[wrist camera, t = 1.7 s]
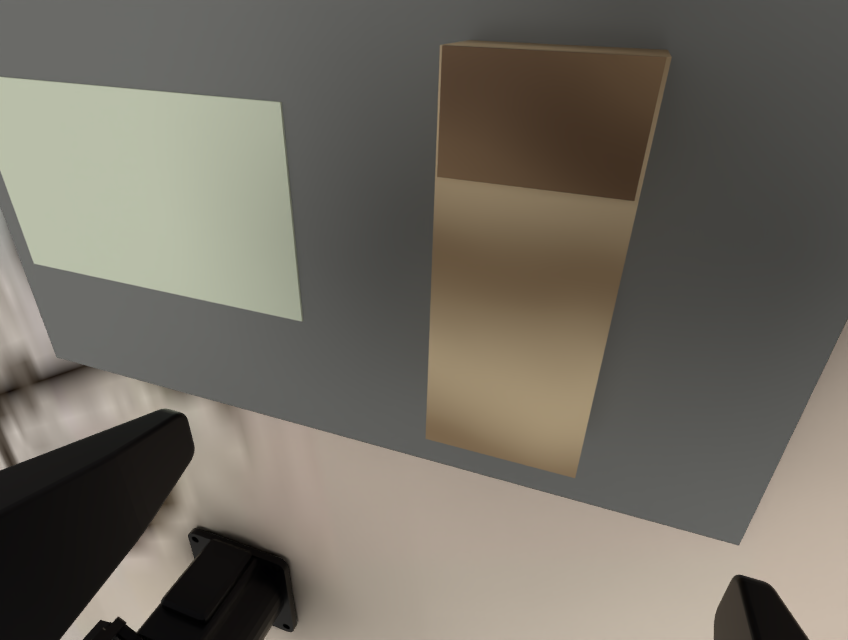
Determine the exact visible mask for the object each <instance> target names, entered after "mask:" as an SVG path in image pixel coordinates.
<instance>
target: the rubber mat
mask: <svg viewBox="0 0 848 640" xmlns="http://www.w3.org/2000/svg"><path fill="white" fill-rule="evenodd" d="M467 40H477V41H497V42H517V43H538V44H558V45H579V46H599V47H619V48H640V49H660V50H668V51H669V53H670V55H671V57H672V58H671V62H670V67H669V71H668V76H667V80H666V84H665V89H664V93H663V97H662V102H661V106H660V110H659V115H658V119H657V123H656V128H655V132H654V137H653V141H652V145H651V150H650V154H649V158H648V163H647V167H646V171H645V176H644V180H643V185H642V189H641V193H640V198H639V202H638V206H637V211H636V215H635V219H634V224H633V228H632V233H631V237H630V241H629V246H628V250H627V254H626V259H625V263H624V267H623V272H622V276H621V280H620V285H619V289H618V294H617V298H616V302H615V307H614V311H613V315H612V320H611V324H610V328H609V333H608V337H607V342H606V346H605V350H604V355H603V359H602V363H601V368H600V372H599V376H598V381H597V385H596V389H595V394H594V398H593V403H592V407H591V411H590V416H589V420H588V424H587V429H586V433H585V437H584V442H583V446H582V451H581V455H580V459H579V464H578V468H577V472H576V477H575V478H572V477H568V476H565V475H561V474H557V473H553V472H549V471H546V470H542V469H538V468H534V467H531V466H527V465H523V464H519V463H515V462H512V461H508V460H504V459H500V458H497V457H493V456H489V455H485V454H481V453H478V452H474V451H470V450H466V449H463V448H459V447H455V446H451V445H447V444H444V443H440V442H436V441H432V440H429V439H426V413H427V386H428V358H429V331H430V304H431V276H432V249H433V222H434V194H435V167H436V140H437V112H438V85H439V58H440V45H443V44H449V43H455V42H461V41H467ZM0 207H1V210H2V213H3V215H4V218H5V221H6V223H7V226H8V229H9V231H10V234H11V237H12V239H13V242H14V245H15V247H16V250H17V253H18V255H19V258H20V261H21V263H22V266H23V269H24V271H25V274H26V277H27V279H28V282H29V285H30V287H31V290H32V293H33V295H34V298H35V301H36V303H37V306H38V309H39V311H40V314H41V317H42V319H43V322H44V325H45V327H46V330H47V333H48V335H49V338H50V341H51V344H52V346H53V349H54V352H55V354H56V357H57V358H61V359H65V360H68V361H72V362H75V363H79V364H83V365H86V366H90V367H94V368H97V369H101V370H104V371H108V372H112V373H115V374H119V375H123V376H126V377H130V378H133V379H137V380H141V381H144V382H148V383H152V384H155V385H159V386H162V387H166V388H170V389H173V390H177V391H181V392H184V393H188V394H191V395H195V396H199V397H202V398H206V399H210V400H213V401H217V402H220V403H224V404H228V405H231V406H235V407H239V408H242V409H246V410H249V411H253V412H257V413H260V414H264V415H268V416H271V417H275V418H278V419H282V420H286V421H289V422H293V423H297V424H300V425H304V426H308V427H311V428H315V429H318V430H322V431H326V432H329V433H333V434H337V435H340V436H344V437H347V438H351V439H355V440H358V441H362V442H366V443H369V444H373V445H376V446H380V447H384V448H387V449H391V450H395V451H398V452H402V453H405V454H409V455H413V456H416V457H420V458H424V459H427V460H431V461H434V462H438V463H442V464H445V465H449V466H453V467H456V468H460V469H463V470H467V471H471V472H474V473H478V474H482V475H485V476H489V477H492V478H496V479H500V480H503V481H507V482H511V483H514V484H518V485H521V486H525V487H529V488H532V489H536V490H540V491H543V492H547V493H550V494H554V495H558V496H561V497H565V498H569V499H572V500H576V501H579V502H583V503H587V504H590V505H594V506H598V507H601V508H605V509H609V510H612V511H616V512H619V513H623V514H627V515H630V516H634V517H638V518H641V519H645V520H648V521H652V522H656V523H659V524H663V525H667V526H670V527H674V528H677V529H681V530H685V531H688V532H692V533H696V534H699V535H703V536H706V537H710V538H714V539H717V540H721V541H725V542H728V543H732V544H735V545H739V544H740V542H741V540H742V538H743V536H744V534H745V532H746V530H747V528H748V526H749V523H750V521H751V519H752V517H753V515H754V513H755V511H756V509H757V507H758V505H759V503H760V500H761V498H762V496H763V494H764V492H765V490H766V488H767V486H768V484H769V482H770V480H771V478H772V475H773V473H774V471H775V469H776V467H777V465H778V463H779V461H780V459H781V457H782V455H783V453H784V450H785V448H786V446H787V444H788V442H789V440H790V438H791V436H792V434H793V432H794V430H795V428H796V425H797V423H798V421H799V419H800V417H801V415H802V413H803V411H804V409H805V407H806V405H807V402H808V400H809V398H810V396H811V394H812V392H813V390H814V388H815V386H816V384H817V382H818V380H819V377H820V375H821V373H822V371H823V369H824V367H825V365H826V363H827V361H828V359H829V357H830V355H831V352H832V350H833V348H834V346H835V344H836V342H837V340H838V338H839V336H840V334H841V332H842V329H843V327H844V325H845V323H846V321H847V319H848V0H0Z"/></svg>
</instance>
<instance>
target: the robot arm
mask: <svg viewBox="0 0 848 640" xmlns="http://www.w3.org/2000/svg"><path fill="white" fill-rule="evenodd" d="M194 448H195V447H194V442H193V438H192V434H191V430H190V426H189V422H188V419H187V417H186V416H185V415H184V414H183V413H180V412H177V411H174V410H170V409H160V410H157V411H155V412H152V413H149V414H147V415H144V416H142V417H139V418H136V419H134V420H131V421H129V422H126V423H123V424H121V425H118V426H115V427H113V428H110V429H108V430H105V431H102V432H100V433H97V434H95V435H92V436H89V437H87V438H84V439H81V440H79V441H76V442H74V443H71V444H68V445H66V446H63V447H61V448H58V449H55V450H53V451H50V452H47V453H45V454H42V455H40V456H37V457H34V458H32V459H29V460H27V461H24V462H21V463H19V464H16V465H14V466H11V467H8V468H6V469H3V470H0V640H60V639H61V637H62V636H63V635H64V634H65V632H66V631H67V630H68V629H69V627H70V626H71V625H72V623H73V622H74V621H75V620H76V618H77V617H78V616H79V615H80V613H81V612H82V611H83V610H84V608H85V607H86V606H87V604H88V603H89V602H90V601H91V599H92V598H93V597H94V596H95V594H96V593H97V592H98V591H99V589H100V588H101V587H102V585H103V584H104V583H105V582H106V580H107V579H108V578H109V577H110V575H111V574H112V573H113V572H114V570H115V569H116V568H117V566H118V565H119V564H120V563H121V561H122V560H123V559H124V558H125V556H126V555H127V554H128V553H129V551H130V550H131V549H132V547H133V546H134V545H135V544H136V542H137V541H138V540H139V538H140V537H141V536H142V534H143V533H144V532H145V530H146V529H147V527H148V526H149V524H150V523H151V521H152V520H153V518H154V517H155V515H156V514H157V512H158V511H159V509H160V508H161V506H162V504H163V503H164V501H165V500H166V498H167V497H168V495H169V494H170V492H171V491H172V489H173V488H174V486H175V485H176V483H177V481H178V480H179V478H180V477H181V475H182V474H183V472H184V471H185V469H186V468H187V466H188V465H189V463H190V461H191V460H192V457H193V455H194ZM188 538H189V541H190V545H191V548H192V552H193V555H194V561H193V562H192V563H191V564H190V565H189V567H188V568H187V569H186V570H185V571H184V573H183V574H182V575H181V576H180V578H179V579H178V580H177V581H176V582H175V584H174V585H173V586H172V587H171V588H170V590H169V591H168V592H167V593H166V595H165V596H164V597H163V598H162V600H161V603H160V604H159V606H158V607H157V608H156V609H155V611H154V612H153V613H152V614H151V615H150V617H149V618H148V619H147V620H146V621H145V623H144V624H143V625H142V626H141V628H140V629H139V630H138V631H137V632H135V631H134V630H132V629H131V628H130V627H128V626H127V625H126V622H125V621H124V620H122V619H121V618H120V617H117V618H116V619H115V621H114V622H113V623H111V622H106V621H103V620H100V621H99V622H98V623H97V624H96V625H95V627H94V628H93V629H92V630H91V631H90V632H89V633H88V634H87V635H86V637H85V638H84V639H83V640H264V638H265V636H266V635H267V633H268V631H269V630H270V628H271V627H272V625H273V626H275V627H278V628H280V629H283V630H285V631H288V632H293V631H294V629H295V627H296V625H297V620H296V613H295V607H294V600H293V594H292V588H291V581H290V575H289V568H288V564H287V563H286V561H284V560H283V559H281V558H279V557H277V556H274V555H271V554H268V553H265V552H263V551H260V550H257V549H254V548H251V547H249V546H246V545H243V544H240V543H237V542H235V541H232V540H229V539H226V538H223V537H221V536H218V535H215V534H212V533H209V532H207V531H204V530H201V529H198V528H194V529H193V530H192V531H191V532H190V533H189V535H188ZM714 640H809V639H808V637H807V636H806V634H805V633H804V631H803V630H802V629H801V627H800V626H799V624H798V623H797V621H796V620H795V618H794V617H793V615H792V614H791V613H790V611H789V610H788V608H787V607H786V605H785V604H784V602H783V601H782V599H781V598H780V596H779V595H778V594H777V592H776V591H775V589H774V588H773V587H772V586H771V585H770V584H768V583H766V582H764V581H761V580H757V579H754V578H750V577H747V576H743V575H736V576H734V577H733V578H732V580H731V582H730V584H729V586H728V588H727V590H726V592H725V594H724V596H723V598H722V600H721V602H720V604H719V606H718V608H717V610H716V614H715V620H714Z"/></svg>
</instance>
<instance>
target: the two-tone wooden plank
mask: <svg viewBox="0 0 848 640" xmlns="http://www.w3.org/2000/svg"><path fill="white" fill-rule="evenodd" d="M671 58H672V57H671V55H670V53H669V51H668V50H660V49H640V48H619V47H599V46H579V45H558V44H538V43H517V42H497V41H477V40H467V41H461V42H455V43H449V44H443V45H440V58H439V85H438V112H437V140H436V167H435V194H434V222H433V249H432V276H431V304H430V331H429V358H428V386H427V413H426V439H429V440H432V441H436V442H440V443H444V444H447V445H451V446H455V447H459V448H463V449H466V450H470V451H474V452H478V453H481V454H485V455H489V456H493V457H497V458H500V459H504V460H508V461H512V462H515V463H519V464H523V465H527V466H531V467H534V468H538V469H542V470H546V471H549V472H553V473H557V474H561V475H565V476H568V477H572V478H575V477H576V472H577V468H578V464H579V459H580V455H581V451H582V446H583V442H584V437H585V433H586V429H587V424H588V420H589V416H590V411H591V407H592V403H593V398H594V394H595V389H596V385H597V381H598V376H599V372H600V368H601V363H602V359H603V355H604V350H605V346H606V342H607V337H608V333H609V328H610V324H611V320H612V315H613V311H614V307H615V302H616V298H617V294H618V289H619V285H620V280H621V276H622V272H623V267H624V263H625V259H626V254H627V250H628V246H629V241H630V237H631V233H632V228H633V224H634V219H635V215H636V211H637V206H638V202H639V198H640V193H641V189H642V185H643V180H644V176H645V171H646V167H647V163H648V158H649V154H650V150H651V145H652V141H653V137H654V132H655V128H656V123H657V119H658V115H659V110H660V106H661V102H662V97H663V93H664V89H665V84H666V80H667V76H668V71H669V67H670V62H671Z"/></svg>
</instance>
